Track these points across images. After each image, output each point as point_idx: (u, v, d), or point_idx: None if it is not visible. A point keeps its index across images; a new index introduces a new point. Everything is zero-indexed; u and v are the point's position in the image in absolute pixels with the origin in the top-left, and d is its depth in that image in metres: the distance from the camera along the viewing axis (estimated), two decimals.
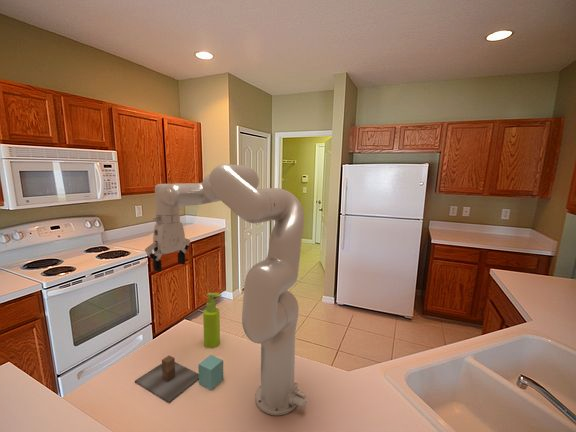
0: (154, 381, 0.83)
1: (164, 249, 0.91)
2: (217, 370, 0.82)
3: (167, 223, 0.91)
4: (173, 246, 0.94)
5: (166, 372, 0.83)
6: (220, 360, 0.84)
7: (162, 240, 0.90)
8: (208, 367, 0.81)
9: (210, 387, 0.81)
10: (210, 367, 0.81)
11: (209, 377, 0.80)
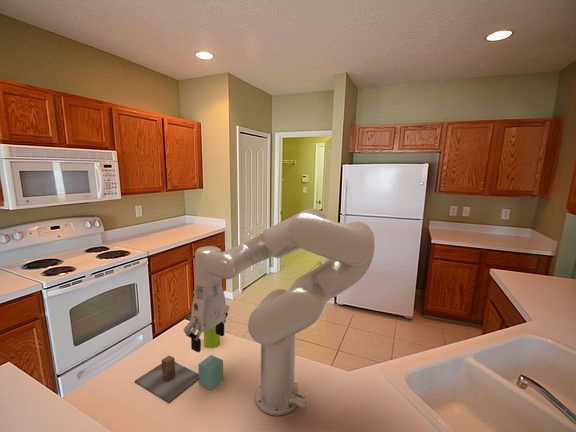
0: (154, 381, 0.83)
1: (205, 327, 0.77)
2: (217, 370, 0.82)
3: (209, 296, 0.77)
4: (214, 320, 0.80)
5: (166, 372, 0.83)
6: (220, 360, 0.84)
7: (203, 317, 0.76)
8: (208, 367, 0.81)
9: (210, 387, 0.81)
10: (210, 367, 0.81)
11: (209, 377, 0.80)
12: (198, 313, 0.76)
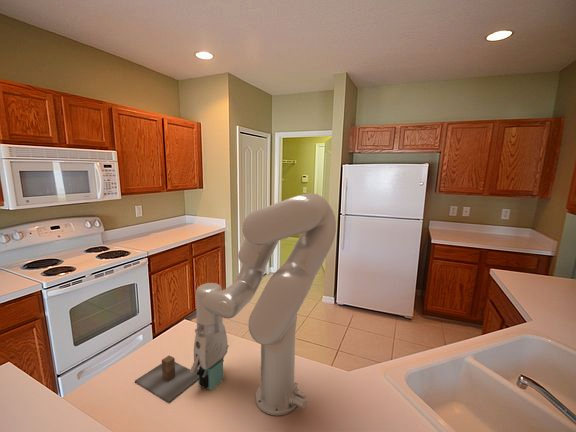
0: (154, 381, 0.83)
1: (207, 364, 0.78)
2: (217, 370, 0.82)
3: (210, 334, 0.79)
4: (216, 356, 0.81)
5: (166, 372, 0.83)
6: (220, 360, 0.84)
7: (205, 355, 0.78)
8: None
9: (210, 387, 0.81)
10: (210, 367, 0.81)
11: (209, 377, 0.80)
12: (200, 351, 0.78)
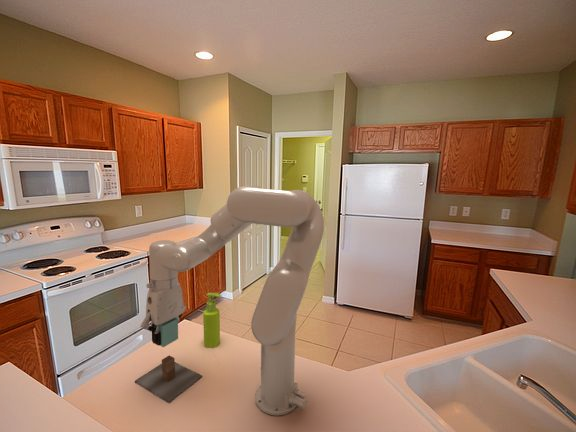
0: (154, 381, 0.83)
1: (158, 320, 0.77)
2: (170, 328, 0.82)
3: (163, 289, 0.78)
4: (169, 314, 0.80)
5: (166, 372, 0.83)
6: (175, 319, 0.83)
7: (156, 310, 0.77)
8: (161, 324, 0.80)
9: (162, 344, 0.80)
10: (163, 324, 0.80)
11: (161, 334, 0.80)
12: (151, 306, 0.77)
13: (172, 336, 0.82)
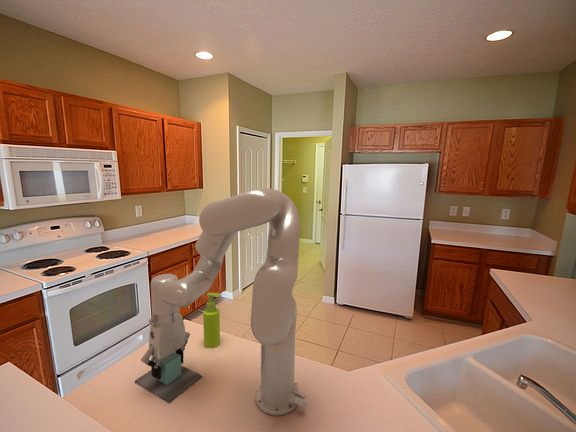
0: (154, 381, 0.83)
1: (161, 354, 0.79)
2: (174, 365, 0.83)
3: (165, 324, 0.79)
4: (171, 347, 0.81)
5: None
6: (177, 355, 0.85)
7: (159, 345, 0.78)
8: (164, 362, 0.82)
9: (166, 382, 0.81)
10: (166, 362, 0.81)
11: (165, 372, 0.81)
12: (154, 341, 0.78)
13: (175, 373, 0.84)
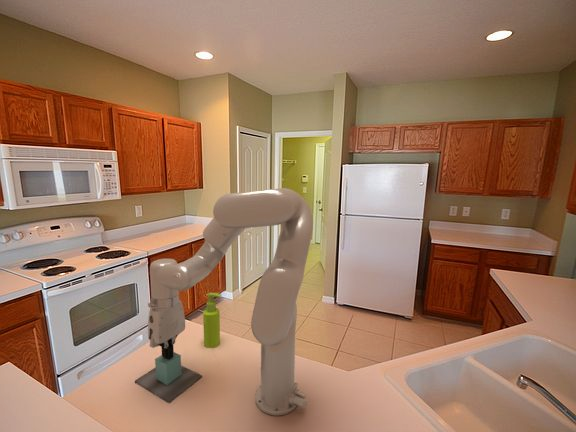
0: (154, 381, 0.83)
1: (160, 338, 0.78)
2: (174, 365, 0.83)
3: (164, 308, 0.78)
4: (171, 332, 0.81)
5: None
6: (177, 355, 0.85)
7: (158, 329, 0.77)
8: (164, 362, 0.82)
9: (166, 382, 0.81)
10: (166, 362, 0.81)
11: (165, 372, 0.81)
12: (153, 325, 0.77)
13: (175, 373, 0.84)
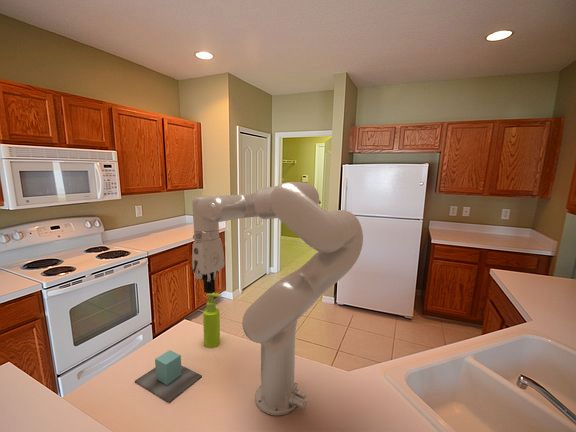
0: (154, 381, 0.83)
1: (205, 269, 0.82)
2: (174, 365, 0.83)
3: (208, 240, 0.82)
4: (213, 265, 0.84)
5: None
6: (177, 355, 0.85)
7: (203, 259, 0.81)
8: (164, 362, 0.82)
9: (166, 382, 0.81)
10: (166, 362, 0.81)
11: (165, 372, 0.81)
12: (198, 256, 0.81)
13: (175, 373, 0.84)
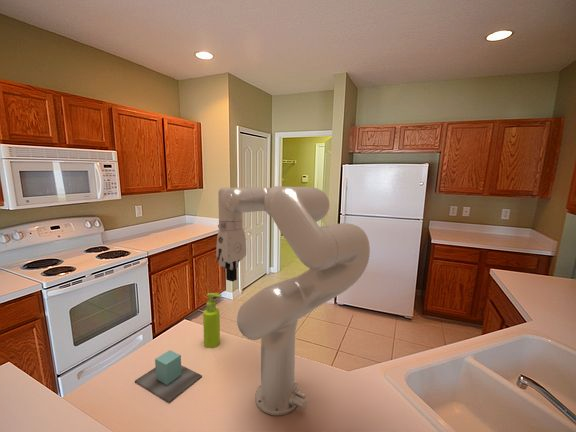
0: (154, 381, 0.83)
1: (229, 258, 0.85)
2: (174, 365, 0.83)
3: (232, 230, 0.85)
4: (236, 254, 0.88)
5: None
6: (177, 355, 0.85)
7: (227, 248, 0.84)
8: (164, 362, 0.82)
9: (166, 382, 0.81)
10: (166, 362, 0.81)
11: (165, 372, 0.81)
12: (223, 245, 0.84)
13: (175, 373, 0.84)
